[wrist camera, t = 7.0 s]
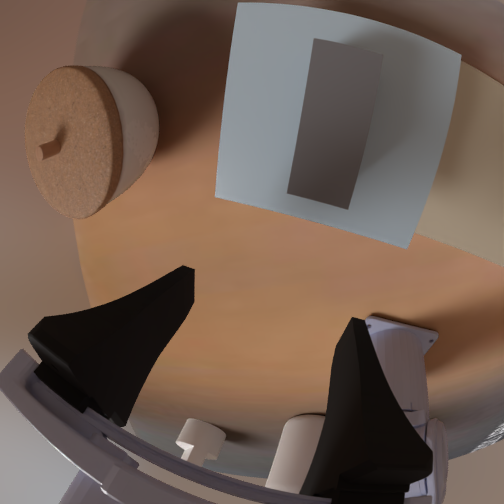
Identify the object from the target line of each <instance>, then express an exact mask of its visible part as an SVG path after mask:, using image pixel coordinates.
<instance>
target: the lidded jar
mask: <svg viewBox="0 0 504 504" xmlns="http://www.w3.org/2000/svg"><path fill="white" fill-rule="evenodd" d="M158 137H159V117H158V112H157V108H156V105H155V102H154V100H153V98H152V96H151V94H150V93H149V91H148V90H147V89H146V87H145V86H144V85H143V84H142V83H141V82H140V81H139V80H138V79H136V78H135V77H133V76H132V75H130V74H128V73H127V72H124V71H121V70H118V69H114V68H110V67H103V66H64V67H60V68H57V69H55V70H54V71H52V72H50V73H49V74H48V75H47V76H46V77H45V78H44V79H43V80H42V81H41V82H40V84H39V85H38V87H37V88H36V90H35V91H34V93H33V96H32V98H31V101H30V104H29V107H28V111H27V116H26V123H25V147H26V154H27V159H28V163H29V167H30V170H31V173H32V176H33V178H34V181H35V183H36V185H37V187H38V188H39V190H40V192H41V194H42V195H43V197H44V198H45V199H46V201H47V202H48V203H49V204H50V205H51V206H52V207H53V208H54V209H55V210H57V211H58V212H59V213H61V214H63V215H64V216H67V217H70V218H75V219H83V218H87V217H90V216H92V215H93V214H95V213H97V212H98V211H99V210H101V209H102V208H103V207H105V206H106V204H108V203H109V202H111V201H112V200H114V199H115V198H117V197H118V196H120V195H121V194H122V193H124V192H125V191H126V190H127V189H129V188H130V187H131V186H132V185H133V184H134V183H135V182H136V181H137V180H138V179H139V178H140V177H141V176H142V174H143V173H144V171H145V170H146V168H147V167H148V165H149V164H150V162H151V160H152V158H153V156H154V152H155V149H156V146H157V143H158Z"/></svg>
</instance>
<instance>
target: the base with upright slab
mask: <svg viewBox="0 0 504 504" xmlns="http://www.w3.org/2000/svg"><path fill="white" fill-rule="evenodd" d="M225 438H226V434H225V433H224V432H223V431H222V430H221V429H219V428H218V427H216V426H214V425H212V424H209V423H207V422H204V421H201V420H198V419H187V421H186V423H185V425H184V427H183V429H182V431H181V433H180V435H179V437H178V439H177V441H176V444H177V445H178V446H180V447H181V448H183V449H184V450H185V451H184V453H183V455H182V457H181V459H183V460H185V461H188V462H190V463H193V464H195V465H198V466H200V467H202V464H203V462H204V460H205V458H206V459H210V460H216V459H217V457H218V454H219V452H220V450H221V448H222V445H223V443H224V440H225Z"/></svg>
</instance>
